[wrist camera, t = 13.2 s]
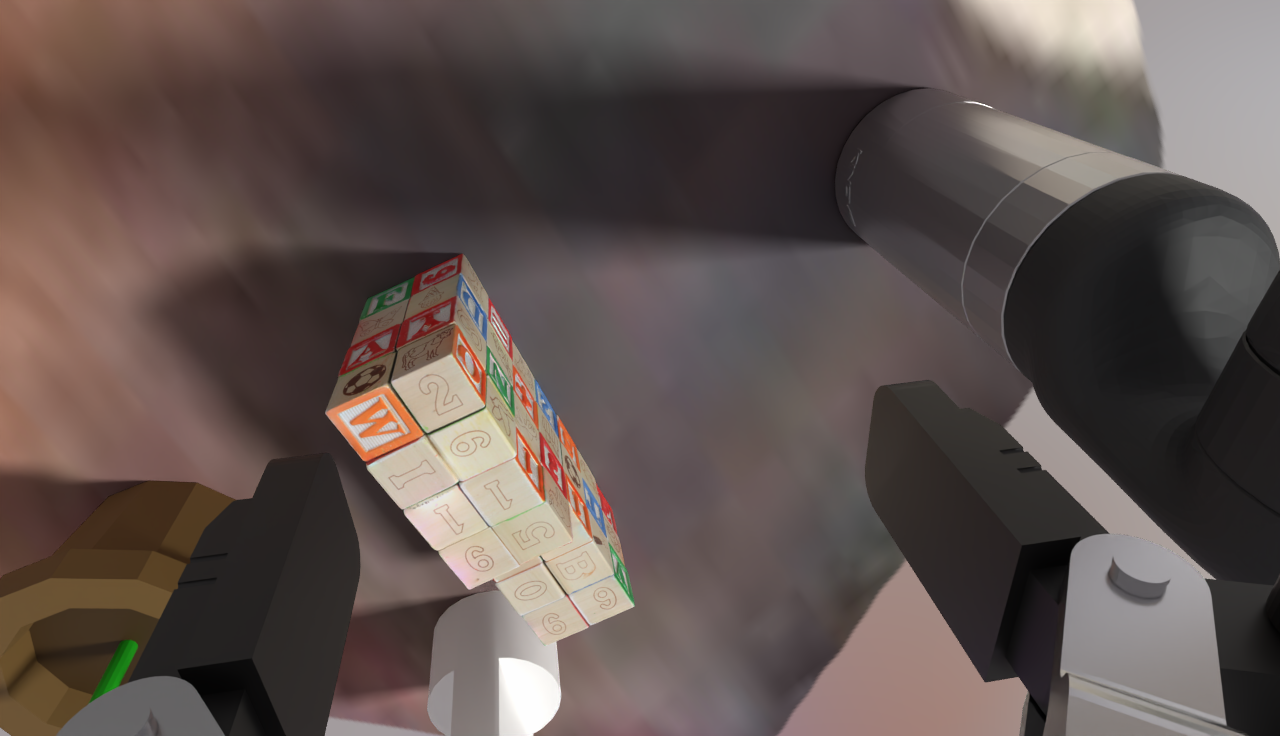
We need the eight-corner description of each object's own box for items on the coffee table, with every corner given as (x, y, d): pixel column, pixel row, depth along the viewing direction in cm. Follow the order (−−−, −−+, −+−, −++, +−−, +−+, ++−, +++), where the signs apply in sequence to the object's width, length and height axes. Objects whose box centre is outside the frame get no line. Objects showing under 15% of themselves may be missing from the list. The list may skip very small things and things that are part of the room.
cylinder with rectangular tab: (567, 657, 60) (582, 806, 50) (455, 687, 60) (447, 844, 50) (537, 576, 56) (547, 723, 46) (415, 609, 55) (397, 765, 45)
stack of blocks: (615, 508, 54) (645, 649, 43) (535, 544, 54) (544, 692, 44) (462, 249, 43) (452, 353, 33) (362, 296, 43) (320, 414, 33)
